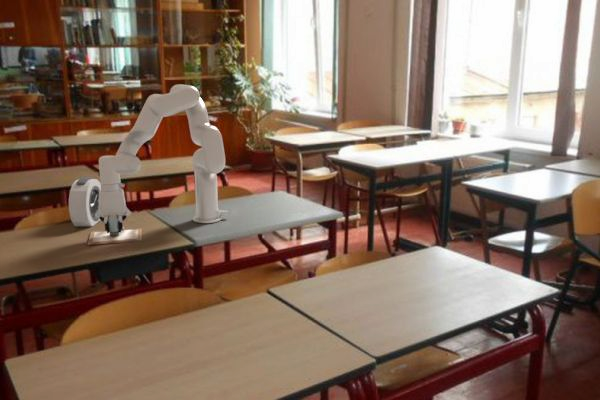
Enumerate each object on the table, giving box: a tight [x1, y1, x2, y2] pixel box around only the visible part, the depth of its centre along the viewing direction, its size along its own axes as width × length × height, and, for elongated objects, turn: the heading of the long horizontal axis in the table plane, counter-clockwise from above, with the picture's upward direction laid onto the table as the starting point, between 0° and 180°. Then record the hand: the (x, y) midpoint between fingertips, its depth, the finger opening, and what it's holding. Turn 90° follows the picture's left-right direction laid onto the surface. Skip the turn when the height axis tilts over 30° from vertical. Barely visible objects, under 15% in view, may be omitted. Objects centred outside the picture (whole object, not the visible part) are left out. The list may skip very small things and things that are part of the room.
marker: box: [107, 215, 119, 237], centre depth 227 cm, size 4×4×10 cm
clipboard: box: [87, 226, 143, 246], centre depth 229 cm, size 20×16×2 cm
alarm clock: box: [68, 176, 101, 228], centre depth 247 cm, size 21×8×20 cm, turn 179°
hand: (114, 231), depth 228 cm, fingers closed on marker, 3 cm apart
